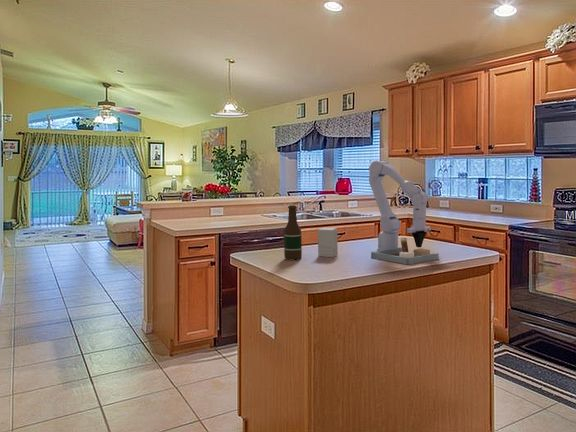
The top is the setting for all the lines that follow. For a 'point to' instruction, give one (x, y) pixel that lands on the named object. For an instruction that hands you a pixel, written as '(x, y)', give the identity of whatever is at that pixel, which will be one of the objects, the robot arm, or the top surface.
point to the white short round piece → (406, 254)
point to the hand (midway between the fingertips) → (418, 247)
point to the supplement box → (327, 242)
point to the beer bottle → (292, 236)
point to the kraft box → (421, 252)
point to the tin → (404, 244)
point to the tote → (389, 257)
